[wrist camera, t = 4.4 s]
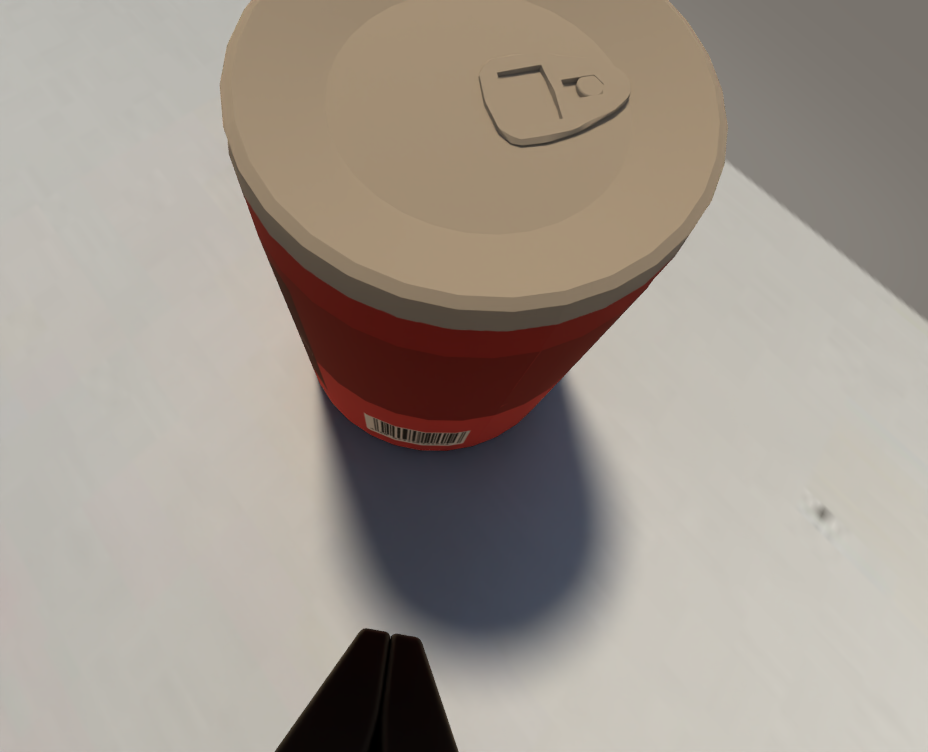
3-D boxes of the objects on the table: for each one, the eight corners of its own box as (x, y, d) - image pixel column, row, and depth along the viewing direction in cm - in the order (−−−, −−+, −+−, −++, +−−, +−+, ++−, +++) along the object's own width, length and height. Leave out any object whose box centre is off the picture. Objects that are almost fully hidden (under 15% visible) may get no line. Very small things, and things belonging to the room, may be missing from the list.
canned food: (596, 379, 20) (829, 171, 9) (388, 507, 17) (384, 425, 7) (474, 205, 21) (556, -144, 11) (270, 303, 19) (124, -11, 9)
